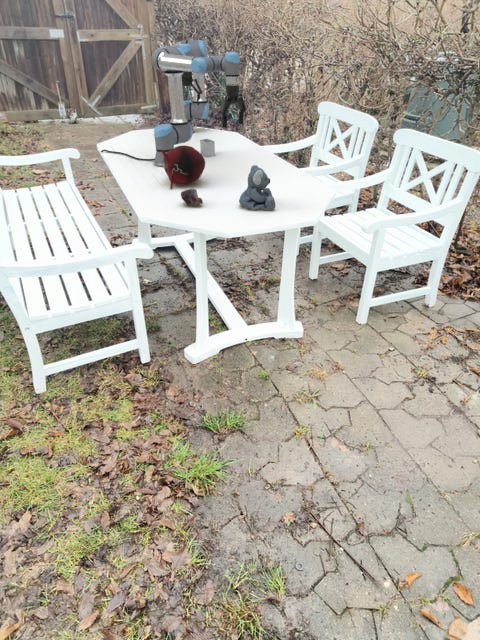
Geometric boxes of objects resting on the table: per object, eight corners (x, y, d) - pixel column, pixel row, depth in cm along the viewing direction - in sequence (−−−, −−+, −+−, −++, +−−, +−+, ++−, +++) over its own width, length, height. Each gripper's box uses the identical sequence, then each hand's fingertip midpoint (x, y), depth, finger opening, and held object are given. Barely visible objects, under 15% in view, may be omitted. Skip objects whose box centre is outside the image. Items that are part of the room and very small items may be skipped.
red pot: (163, 151, 265) (157, 149, 242) (201, 142, 264) (199, 140, 241) (172, 187, 272) (167, 189, 248) (209, 179, 271) (208, 180, 248)
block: (207, 156, 308) (207, 142, 302) (200, 154, 314) (200, 140, 308) (215, 155, 311) (214, 141, 305) (208, 152, 317) (207, 138, 311)
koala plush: (276, 211, 223) (277, 171, 212) (240, 212, 222) (240, 172, 211) (271, 199, 237) (272, 161, 226) (237, 200, 236) (237, 162, 225)
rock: (196, 202, 238) (178, 205, 233) (194, 185, 234) (176, 188, 230) (205, 205, 228) (187, 208, 224) (203, 188, 224) (185, 191, 220)
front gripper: (221, 87, 239) (222, 130, 251) (252, 83, 254) (252, 123, 266) (211, 86, 244) (213, 128, 256) (242, 81, 258) (243, 121, 271)
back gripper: (167, 71, 301) (170, 105, 313) (204, 71, 300) (205, 105, 312) (169, 70, 307) (172, 103, 319) (205, 69, 306) (206, 104, 318)
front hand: (233, 125), depth 261 cm, fingers open, 13 cm apart
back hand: (188, 105), depth 316 cm, fingers open, 13 cm apart
